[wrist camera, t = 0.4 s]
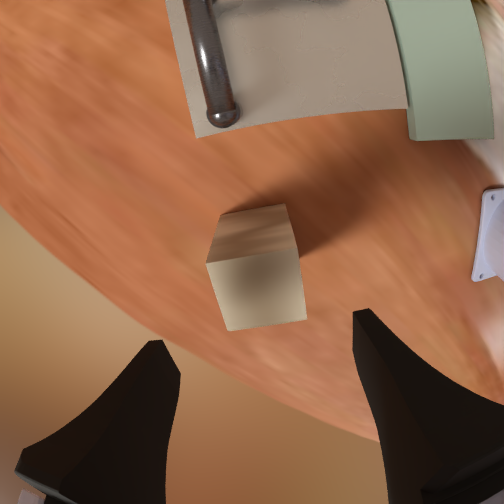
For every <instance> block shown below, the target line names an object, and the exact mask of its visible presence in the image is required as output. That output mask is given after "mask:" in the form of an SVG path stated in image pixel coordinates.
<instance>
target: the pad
mask: <svg viewBox="0 0 504 504" xmlns="http://www.w3.org/2000/svg"><path fill="white" fill-rule="evenodd" d="M385 2H386V5H387V9H388V12H389V16H390V19H391V23H392V27H393V31H394V35H395V39H396V43H397V48H398V52H399V57H400V62H401V67H402V72H403V78H404V84H405V90H406V97H407V104H408V109H406V111H407V120H408V129H409V139H412V140H415V141H427V140H449V139H494V125H493V111H492V100H491V91H490V84H489V77H488V70H487V65H486V59H485V54H484V49H483V45H482V40H481V36H480V32H479V28H478V24H477V21H476V17H475V14H474V10H473V7H472V4H471V1H470V0H385Z"/></svg>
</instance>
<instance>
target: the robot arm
mask: <svg viewBox="0 0 504 504" xmlns="http://www.w3.org/2000/svg"><path fill="white" fill-rule="evenodd" d="M492 195H493V196H492ZM491 196H492V198H491ZM496 275H498V276H499V277H500V278H501V279H502V280H503V281H504V188H499V189H491V190H486V191H485V192H484V193H483V196H482V208H481V218H480V227H479V235H478V242H477V249H476V255H475V261H474V266H473V271H472V277H471V278H472V280H473V281H474V282H477V281H481V280H484V279H487V278H490V277H493V276H496ZM353 354H354V358H355V363H356V367H357V371H358V375H359V377H360V380H361V383H362V386H363V388H364V391H365V394H366V397H367V400H368V402H369V405H370V408H371V411H372V414H373V417H374V420H375V423H376V426H377V430H378V435H379V440H380V445H381V449H382V455H383V461H384V467H385V474H386V481H387V490H388V500H389V504H504V405H502V404H499V403H496V402H493V401H491V400H489V399H486V398H484V397H482V396H480V395H478V394H476V393H474V392H472V391H470V390H468V389H466V388H465V387H463V386H461V385H459V384H457V383H456V382H454V381H452V380H451V379H449V378H448V377H446V376H445V375H443V374H442V373H440V372H439V371H438V370H436V369H435V368H433V367H432V366H431V365H429V364H428V363H427V362H426V361H424V360H423V359H422V358H421V357H419V356H418V355H417V354H416V353H415V352H413V351H412V350H411V349H410V348H409V347H408V346H407V345H406V344H405V343H404V342H402V341H401V340H400V339H399V338H398V337H397V336H396V335H395V334H394V333H393V332H392V331H391V330H390V329H389V328H388V327H387V326H386V325H385V324H384V323H383V322H382V321H381V320H380V319H379V318H378V317H377V316H376V315H375V314H374V312H373V311H372V310H370V309H369V308H368V309H363V310H359V311H354V312H353ZM180 376H181V373H180V371H179V369H178V368H177V366H176V364H175V362H174V361H173V359H172V357H171V355H170V354H169V351H168V350H167V348H166V346H165V344H164V342H163V340H154V341H148V342H147V343H146V345H144V347H143V348H142V349H141V350H140V351H139V352H138V354H137V355H136V356H135V357H134V358H133V359H132V361H131V362H130V363H129V364H128V365H127V367H126V368H125V369H124V370H123V371H122V372H121V374H120V375H119V376H118V377H117V378H116V379H115V381H113V383H112V384H111V385H110V386H109V387H108V388H107V389H106V390H105V391H104V392H103V393H102V395H101V396H100V397H99V398H98V399H97V400H95V402H93V403H92V404H91V405H90V406H89V407H88V408H87V409H86V410H85V411H83V412H82V413H81V414H80V415H79V416H77V417H76V418H75V419H73V420H72V421H71V422H69V423H68V424H67V425H65V426H64V427H63V428H61V429H60V430H58V431H57V432H55V433H53V434H52V435H50V436H48V437H47V438H45V439H43V440H41V441H39V442H37V443H35V444H33V445H31V446H29V447H27V448H24V449H23V451H22V453H21V456H20V458H19V461H18V463H17V466H16V468H15V471H14V472H15V474H16V475H17V476H18V477H20V478H21V479H22V480H24V481H25V482H27V483H28V484H30V485H31V486H33V487H34V488H36V489H38V490H39V491H41V492H42V493H44V494H46V498H45V499H43V498H41V497H39V496H37V495H36V494H34V493H32V492H30V491H28V490H26V489H22V491H21V494H20V497H19V500H18V503H17V504H166V496H165V495H166V494H165V482H166V461H167V449H168V443H169V438H170V433H171V429H172V425H173V420H174V416H175V411H176V406H177V402H178V397H179V388H180Z"/></svg>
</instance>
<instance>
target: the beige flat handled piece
mask: <svg viewBox="0 0 504 504" xmlns="http://www.w3.org/2000/svg"><path fill="white" fill-rule="evenodd" d="M165 2H166V7H167V12H168V17H169V22H170V26H171V31H172V36H173V40H174V45H175V49H176V54H177V58H178V63H179V67H180V71H181V76H182V80H183V85H184V89H185V93H186V97H187V102H188V106H189V110H190V114H191V118H192V123H193V127H194V131H195V135H196V138H200V137H204V136H208V135H212V134H216V133H221V132H225V131H230V130H234V129H239V128H244V127H249V126H254V125H259V124H265V123H271V122H276V121H282V120H289V119H295V118H302V117H309V116H317V115H325V114H334V113H344V112H355V111H368V110H384V109H408V104H407V97H406V90H405V84H404V78H403V72H402V67H401V62H400V57H399V52H398V48H397V43H396V39H395V35H394V31H393V27H392V23H391V19H390V16H389V12H388V9H387V5H386V2H385V0H165Z"/></svg>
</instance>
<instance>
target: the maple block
mask: <svg viewBox="0 0 504 504" xmlns="http://www.w3.org/2000/svg"><path fill="white" fill-rule="evenodd" d="M206 267H207V270H208V273H209V276H210V279H211V282H212V285H213V288H214V291H215V294H216V297H217V301H218V304H219V307H220V309H221V312H222V315H223V318H224V321H225V324H226V327H227V330H228V331H233V330H241V329H248V328H255V327H262V326H269V325H276V324H282V323H288V322H294V321H300V320H306V319H307V314H306V306H305V299H304V291H303V284H302V276H301V269H300V262H299V255H298V248H297V244H296V241H295V237H294V233H293V230H292V226H291V222H290V219H289V215H288V212H287V208H286V205H285V203H283V204H278V205H272V206H266V207H261V208H256V209H250V210H245V211H240V212H235V213H229V214H224V215H220V218H219V221H218V225H217V228H216V231H215V234H214V237H213V241H212V244H211V247H210V251H209V254H208V257H207V260H206Z"/></svg>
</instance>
